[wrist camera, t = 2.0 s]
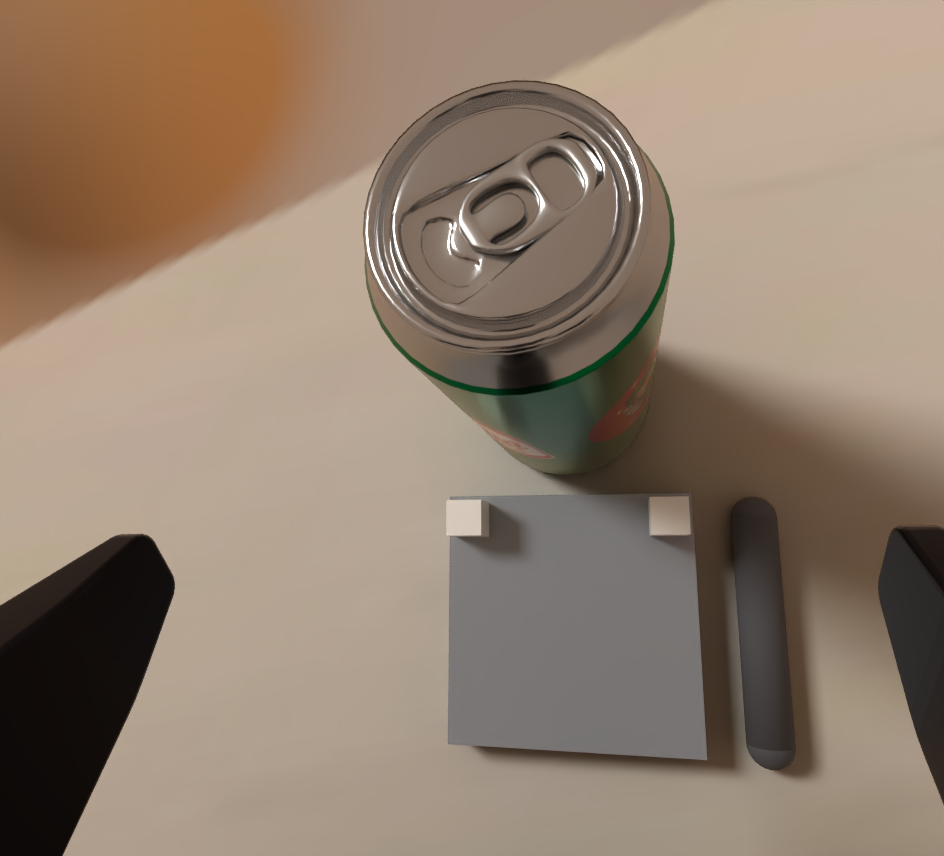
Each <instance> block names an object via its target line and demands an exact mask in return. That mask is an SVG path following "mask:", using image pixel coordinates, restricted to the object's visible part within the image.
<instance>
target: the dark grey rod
mask: <svg viewBox="0 0 944 856" xmlns="http://www.w3.org/2000/svg"><path fill="white" fill-rule="evenodd" d="M731 525H732V540H733V555H734V569H735V584H736V598H737V613H738V628H739V642H740V657H741V672H742V686H743V701H744V715H745V730H746V743H747V748H748V751H749V753H750V755H751V757H752V758H753V759H754V761H755V762H757V763H758V764H759V765H760V766H762V767H764V768H766V769H770V770H780V769H783V768H785V767H787V766H788V765H789V764H790V763H791V762H792V761H793V759H794V756H795V736H794V724H793V711H792V699H791V687H790V674H789V662H788V650H787V637H786V625H785V613H784V600H783V588H782V576H781V563H780V551H779V539H778V526H777V516H776V512H775V510H774V508H773V507H772V505H771V504H770V503H769V502H767V501H766V500H764V499H762V498H759V497H747V498H744V499H742V500H740V501H739V502H738V503H736V505H735V506H734V508H733V510H732V513H731Z"/></svg>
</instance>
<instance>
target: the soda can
mask: <svg viewBox="0 0 944 856" xmlns="http://www.w3.org/2000/svg"><path fill="white" fill-rule="evenodd" d="M363 237H364V247H365V274H366V284H367V290H368V293H369V297H370V301H371V304H372V308H373V310H374V312H375V314H376V317H377V319H378V321H379V323H380V325H381V327H382V329H383V330H384V332H385V333H386V335H387V336H388V338H389V339H390V340H391V342H392V343H393V345H394V346H395V347H396V348H397V349H398V350H399V351H400V352H401V353H402V354H403V355H404V356H405V357H406V358H407V360H408V361H409V362H410V363H412V364H413V365H414V366H415V367H416V368H417V369H418V370H419V371H420V372H421V373H422V374H423V375H425V376H426V377H427V378H428V379H429V380H430V381H431V382H432V383H433V384H434V385H435V386H436V387H438V388H439V389H440V390H441V391H442V392H443V393H444V394H445V395H446V396H447V397H448V398H449V399H451V400H452V401H453V402H454V403H455V404H456V405H457V406H458V407H459V408H460V409H461V410H462V411H464V412H465V413H466V414H467V415H468V416H469V417H470V418H471V419H472V420H473V421H474V422H475V423H477V424H478V425H479V426H480V427H481V428H482V429H483V430H484V431H485V432H486V433H487V434H489V435H490V436H491V437H492V438H493V439H494V440H495V441H496V442H497V443H498V444H499V445H500V446H502V447H503V448H504V449H505V450H506V451H507V452H508V453H509V454H510V455H511V456H513V457H514V458H516V459H517V460H518V461H520V462H521V463H523V464H525V465H527V466H529V467H531V468H533V469H536V470H539V471H542V472H546V473H552V474H577V473H584V472H587V471H590V470H593V469H597V468H599V467H601V466H603V465H605V464H607V463H609V462H610V461H612V460H613V459H615V458H616V457H617V456H619V455H620V454H621V453H622V452H623V451H624V450H625V449H626V448H627V447H628V446H629V445H630V444H631V443H632V441H633V440H634V439H635V437H636V436H637V435H638V433H639V431H640V429H641V427H642V425H643V423H644V420H645V417H646V414H647V411H648V406H649V400H650V394H651V388H652V382H653V376H654V370H655V364H656V358H657V352H658V345H659V339H660V333H661V327H662V321H663V315H664V309H665V303H666V297H667V291H668V285H669V279H670V273H671V266H672V259H673V252H674V245H675V239H674V218H673V213H672V209H671V204H670V199H669V196H668V193H667V191H666V188H665V186H664V183H663V181H662V178H661V176H660V174H659V173H658V171H657V169H656V168H655V166H654V165H653V163H652V162H651V160H650V159H649V157H648V156H647V154H646V153H645V152H644V151H643V150H642V149H641V148H640V147H639V146H638V145H637V144H636V142H635V141H634V139H633V138H632V136H631V134H630V133H629V131H628V130H627V128H626V127H625V126H624V125H623V124H622V123H621V122H620V121H619V120H618V119H617V118H616V116H615V115H614V114H613V113H611V112H610V111H609V110H608V109H606V108H605V107H604V106H602V105H601V104H600V103H598V102H597V101H596V100H594V99H592V98H590V97H588V96H586V95H584V94H582V93H580V92H578V91H576V90H573V89H570V88H567V87H564V86H561V85H558V84H552V83H546V82H540V81H517V80H516V81H515V80H514V81H506V82H498V83H491V84H487V85H484V86H480V87H476V88H472V89H470V90H467V91H465V92H462V93H460V94H458V95H455V96H453V97H451V98H449V99H447V100H446V101H444V102H442V103H440V104H438V105H437V106H435V107H433V108H432V109H430V110H429V111H428V112H426V113H425V114H424V115H423V116H421V117H420V118H419V119H417V120H416V121H415V122H414V123H413V124H412V125H411V126H410V127H409V128H408V129H407V130H406V131H405V132H404V133H403V134H402V135H401V136H400V137H399V138H398V140H397V141H396V142H395V143H394V145H393V146H392V148H391V149H390V150H389V151H388V153H387V154H386V156H385V158H384V159H383V161H382V163H381V165H380V167H379V168H378V170H377V172H376V174H375V177H374V180H373V182H372V185H371V188H370V190H369V193H368V198H367V202H366V207H365V211H364V225H363Z"/></svg>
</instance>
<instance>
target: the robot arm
mask: <svg viewBox="0 0 944 856" xmlns="http://www.w3.org/2000/svg"><path fill="white" fill-rule="evenodd" d="M174 590H175V581H174V577H173V575H172V573H171V571H170V569H169V567H168V565H167V564H166V562H165V560H164V558H163V556H162V554H161V553H160V551H159V549H158V547H157V545H156V544H155V542H154V541H153V539H152V538H150V537H149V536H148V535H144V534H121V535H117V536H114V537H112V538H110V539H109V540H107V541H105V542H104V543H102V544H100V545H99V546H97V547H96V548H94V549H92V550H91V551H89V552H87V553H86V554H84V555H82V556H81V557H79V558H77V559H76V560H74V561H73V562H71V563H69V564H68V565H66V566H64V567H63V568H61V569H59V570H58V571H56V572H54V573H53V574H51V575H50V576H48V577H46V578H45V579H43V580H41V581H40V582H38V583H36V584H35V585H33V586H31V587H30V588H28V589H27V590H25V591H23V592H22V593H20V594H18V595H17V596H15V597H13V598H12V599H10V600H8V601H7V602H5V603H4V604H2V605H0V856H63V854H64V851H65V849H66V847H67V845H68V843H69V841H70V839H71V837H72V834H73V832H74V830H75V828H76V826H77V824H78V822H79V820H80V817H81V815H82V813H83V811H84V809H85V807H86V805H87V803H88V800H89V798H90V796H91V794H92V792H93V790H94V788H95V786H96V783H97V781H98V779H99V777H100V775H101V773H102V771H103V769H104V766H105V764H106V762H107V760H108V758H109V756H110V754H111V752H112V749H113V747H114V745H115V743H116V741H117V739H118V737H119V735H120V732H121V730H122V728H123V726H124V724H125V722H126V720H127V718H128V715H129V713H130V711H131V709H132V706H133V704H134V702H135V700H136V697H137V694H138V692H139V689H140V687H141V684H142V681H143V679H144V676H145V673H146V670H147V668H148V665H149V662H150V659H151V656H152V654H153V651H154V648H155V645H156V643H157V640H158V637H159V634H160V631H161V629H162V626H163V623H164V620H165V618H166V615H167V612H168V609H169V606H170V604H171V601H172V598H173V595H174ZM878 591H879V599H880V603H881V607H882V611H883V615H884V618H885V622H886V626H887V629H888V633H889V637H890V640H891V644H892V648H893V651H894V655H895V659H896V662H897V666H898V670H899V673H900V677H901V681H902V685H903V688H904V692H905V696H906V699H907V703H908V707H909V710H910V714H911V717H912V721H913V724H914V727H915V731H916V734H917V737H918V740H919V743H920V745H921V748H922V751H923V753H924V756H925V759H926V761H927V764H928V766H929V769H930V771H931V774H932V776H933V779H934V781H935V784H936V786H937V789H938V791H939V794H940V796H941V799H942V801H943V804H944V529H943V528H941V527H939V526H934V525H902V526H898V527H896V528H894V529H893V530H892V532H891V534H890V536H889V540H888V544H887V548H886V552H885V556H884V560H883V564H882V568H881V572H880V576H879V583H878Z"/></svg>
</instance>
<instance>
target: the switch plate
mask: <svg viewBox="0 0 944 856" xmlns="http://www.w3.org/2000/svg"><path fill="white" fill-rule="evenodd" d="M446 536H450V583H449V693H448V744H456V745H472V746H488V747H504V748H520V749H536V750H553V751H569V752H585V753H601V754H617V755H633V756H649V757H665V758H681V759H697V760H707V748H706V731H705V713H704V696H703V679H702V662H701V644H700V627H699V610H698V592H697V575H696V558H695V541H694V523H693V506H692V493H651V494H590V495H530V496H469V497H450V500H447V524H446Z"/></svg>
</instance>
